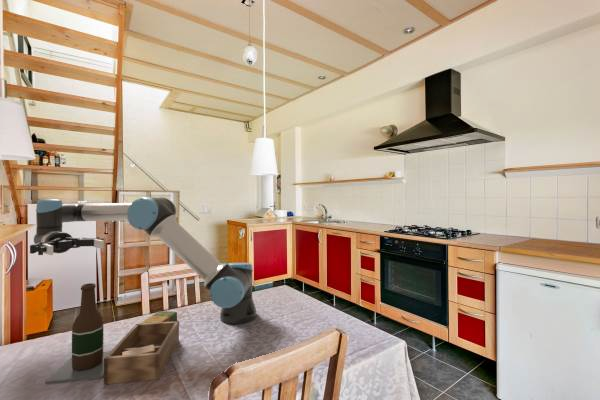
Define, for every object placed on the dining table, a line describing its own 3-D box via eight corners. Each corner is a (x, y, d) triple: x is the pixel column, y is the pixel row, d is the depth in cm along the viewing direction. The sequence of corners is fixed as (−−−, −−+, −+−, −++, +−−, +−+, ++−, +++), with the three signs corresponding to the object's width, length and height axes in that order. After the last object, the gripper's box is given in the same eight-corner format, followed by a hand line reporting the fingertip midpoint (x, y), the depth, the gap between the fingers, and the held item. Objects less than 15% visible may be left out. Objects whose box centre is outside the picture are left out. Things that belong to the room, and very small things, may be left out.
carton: (132, 338, 103) (132, 326, 104) (158, 320, 119) (158, 310, 119) (153, 339, 103) (153, 328, 103) (177, 321, 118) (177, 310, 118)
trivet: (123, 352, 94) (123, 350, 94) (101, 378, 80) (101, 376, 80) (76, 355, 91) (76, 353, 91) (44, 383, 77) (44, 381, 77)
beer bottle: (83, 357, 89) (83, 281, 89) (109, 356, 90) (109, 280, 90) (64, 372, 81) (65, 288, 81) (93, 371, 82) (93, 288, 82)
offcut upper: (153, 354, 87) (153, 344, 87) (154, 360, 83) (154, 350, 83) (122, 362, 82) (122, 352, 82) (122, 369, 79) (122, 358, 79)
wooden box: (178, 340, 101) (178, 321, 101) (158, 379, 80) (158, 354, 80) (136, 343, 99) (136, 323, 99) (103, 384, 77) (103, 358, 77)
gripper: (97, 247, 114) (120, 253, 102) (9, 257, 94) (26, 266, 82) (97, 228, 114) (120, 232, 102) (9, 235, 94) (26, 240, 82)
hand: (78, 247), depth 92 cm, fingers open, 13 cm apart
